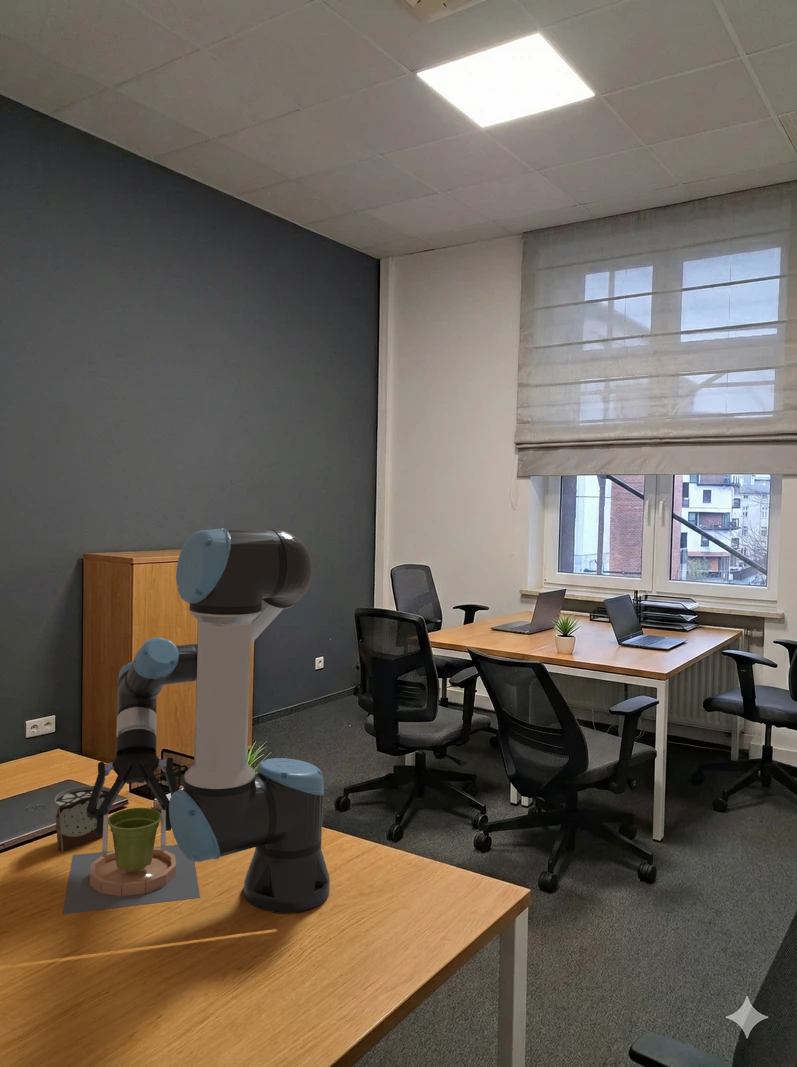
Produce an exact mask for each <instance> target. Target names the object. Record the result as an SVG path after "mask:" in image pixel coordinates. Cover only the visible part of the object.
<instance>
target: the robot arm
mask: <svg viewBox="0 0 797 1067" xmlns="http://www.w3.org/2000/svg"><path fill="white" fill-rule="evenodd" d="M313 568H314V566H313V561H312V557H311V554H310V552H309V550H308V548H307V547H306V545H305V544H304V543H303V541H301V540H300V539H299V538H298V537H296V536H295V535H293V534H291V533H289V532H287V531H284V530H281V529H240V528H239V529H238V528H237V529H236V528H235V529H234V528H221V527H220V528H214V529H202V530H198V531H196V532H194V533H192V534H191V535H190V536H189V537H188V538H187V539H186V541H185V543H184V544H183V545H182V548H181V549H180V552H179V556H178V559H177V564H176V570H175V571H176V572H175V573H176V574H175V579H176V581H175V582H176V585H177V593H178V595H179V597H180V598H181V599H182V600H183V601H184V602H186V603H188V604H189V613H190V614H191V615H192V616H193V617H194V618H195V619H196V620H197V622H198V626H197V627H198V629H197V630H198V631H197V643H192V644H191V643H190V644H181V645H180V644H179V645H176V644H175V643H174V642H173V641H171V640H170V639H166V638H163V637H153V638H149V639H148V640H146V641H145V642H144V643H143V644H142V646H141V647H140V648H139V649H138V651H137V652H136V654H135V656H134V658H133V661H131V662H129V663H127V664H126V665H123V666H122V667H121V668H120V670H119V673H118V674H119V675H118V680H117V684H116V685H117V708H116V709H117V715H116V733H115V734H116V738H115V739H116V740H115V758H114V759H113V761H112V762H107V763H105V762H103V761H99V762H98V763H97V777H96V778H95V779H96V780H95V783H94V785H93V786H94V788H93V791H92V794H91V797H90V801H89V804H88V807H87V817H88V818H95V819H96V820H97V825H96V835H97V837H102V842H101V843H102V847H101V852H102V857H107V852H108V836H109V835H108V834H109V825H108V818H109V812H110V811H109V810H110V809H111V807H112V806H113V804H114V802H115V801H116V799H117V797H118V795H119V794H120V792H121V791H122V789H123V788H124V787H125V785H129V784H130V785H131V784H134V783H138V784H144V783H146V785H147V787H149V788H150V790H151V792H152V794H153V795H154V797H155V799H156V800H157V802H158V804H159V805H160V808H161V811H160V813H161V816H162V819H161V821H160V846H161V851H165V849H166V846H167V832H168V831H169V832H170V831H171V830H172V834H173V837H174V839H175V842H176V845H178V846H179V848H180V850H181V851H182V853H183V854H184V855H185V856H186V857H187V858H188V859H190V860H192V861H194V862H195V863H197V862H198V863H199V862H204V861H208V860H218V859H220V858H222V857H225V856H229V855H233V854H235V853H239V852H243V851H246V850H250V849H252V848H253V849H254V848H255V849H254V852H253V856H252V858H251V861H250V864H249V866H248V870H247V872H246V874H245V877H244V884H243V896H244V898H245V900H246V901H247V902H248V903H249V904H250V905H251V906H253V907H255V908H257V909H260V910H263V911H268V912H272V913H274V914H295V913H302V912H305V911H309V910H312V909H314V908H316V907H318V906H320V905H321V904H322V903H324V902H326V900H327V898H329V894H330V885H331V883H330V882H331V881H330V880H331V878H330V874H329V871H328V868H327V864H326V862H325V861H326V860H325V857H324V853H323V850H322V836H323V835H322V833H323V832H322V831H323V806H324V795H325V790H324V787H325V786H324V776H323V772H322V770H320V768H319V767H317V766H316V765H314V764H312V763H310V762H308V761H303V760H301V759H300V760H298V759H294V758H285V757H283V758H281V757H280V758H279V757H274V758H268V759H263V760H262V761H260V762H259V763H258V766H257V768H256V771H255V769H254V768H253V767H252V766H251V765H250V764H249V763H248V762H247V761H248V737H249V708H250V688H251V686H250V685H251V684H250V683H251V682H250V680H251V658H252V657H251V654H252V644H253V643H254V642H255V641H256V640H257V639H258V638H259V636H260V635H261V634H262V633H263V632H265V630H266V629H267V627H268V626H269V625H270V624H271V623H272V622H273V621H274V620H275V619H276V618H277V617H278V615H279V614H280V613H281V612H283V610H286V609H289V608H293V607H294V606H295V605H296V604H297V603H298V602H299V601H300V600H301V599H302V598H303V597H304V595H305V594H306V593H307V591H308V589H309V587H310V585H311V582H312V578H313V572H314V569H313ZM190 682H191V683H192V682H196V687H195V688H196V692H195V721H194V725H195V726H194V745H193V746H194V748H193V749H194V751H193V752H194V753H193V754H194V755H193V764H192V765H191V766H190V767H189V768H188V769H187V770H186V771H185V773H184V775H183V789H181V788H180V789H179V787H178V783H177V779H176V777H175V773H174V769H173V766H174V759H173V757H168V758H166V759H160V758H159V756H158V755H157V729H158V728H157V727H158V726H157V719H158V718H157V717H158V716H157V704H158V703H157V701H158V700H157V699H158V695H159V693H161V691H162V689H163V688H164V686H166V685H174V684H181V683H182V684H183V683H190ZM158 767H159V768H161V771H162V772H163V773H165V779H166V783H167V787H168V789H169V793H170V798H168V796H167V794H166V793H165V791H164V789H163V788H162V786H161V784H160V783H159V781H158V780H157V778H156V775H155V773H154V772H155V771H156V770H157V769H158ZM111 771H114V772H115V774H116V775H117V777H116V778H115V781H114V783H113V784H112V786H111V787H110V788H111V789H110V791H109V793H108V794H107V796H106V798H105V799H104V801H103V803H102V804H101V806H100V808H99V809H96V807H97V804H98V801H99V798H100V795H101V791H102V788H103V787H104V784H105V781H106V777H107V776H109V774H110V772H111ZM256 772H257V773H256ZM108 811H109V812H108ZM107 813H108V815H106V814H107Z"/></svg>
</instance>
